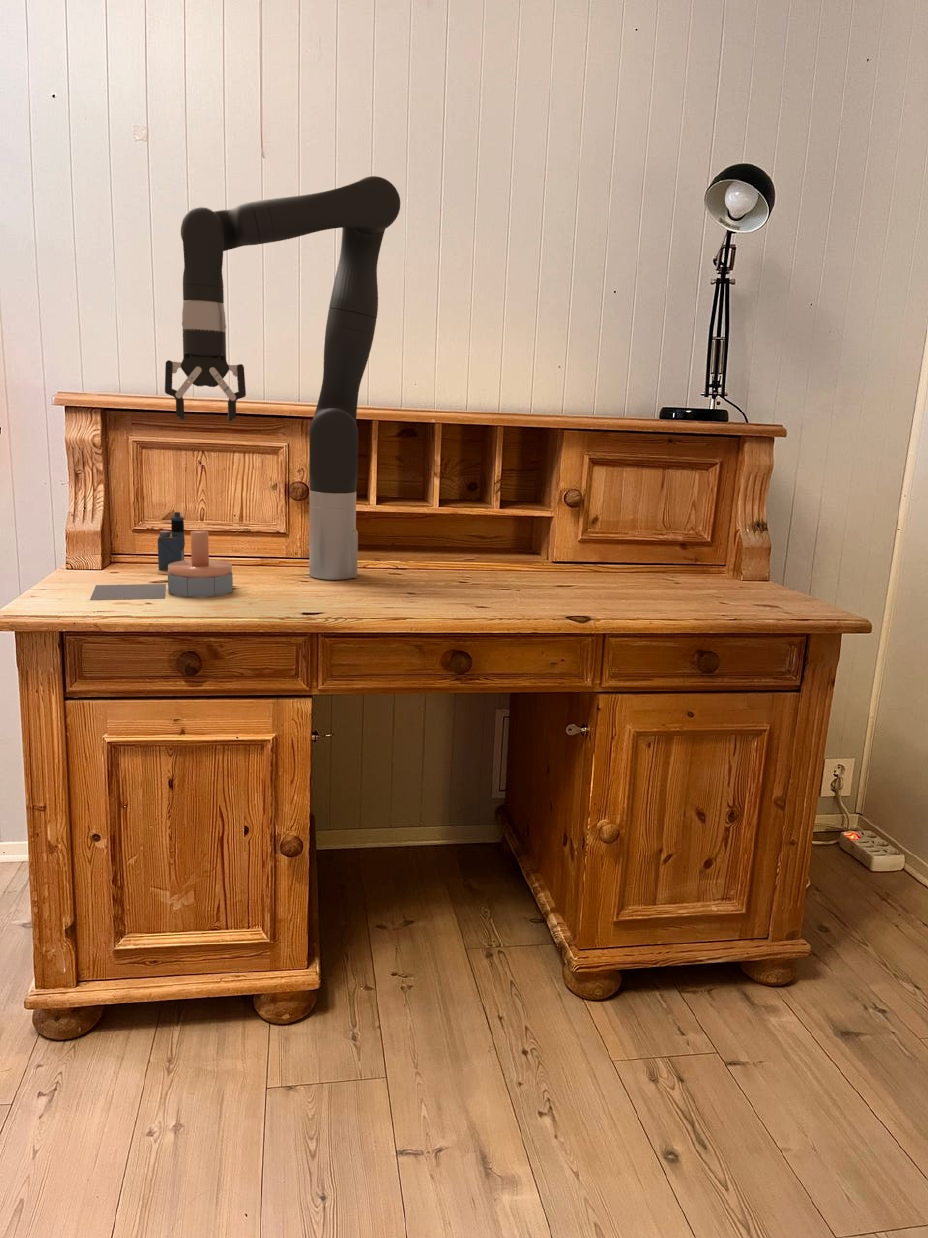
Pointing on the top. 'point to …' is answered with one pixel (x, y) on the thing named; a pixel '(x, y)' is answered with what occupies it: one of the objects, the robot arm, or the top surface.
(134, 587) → the mat
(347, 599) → the top surface
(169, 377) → the robot arm
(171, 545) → the vaping device
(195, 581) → the bowl
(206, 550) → the lid
